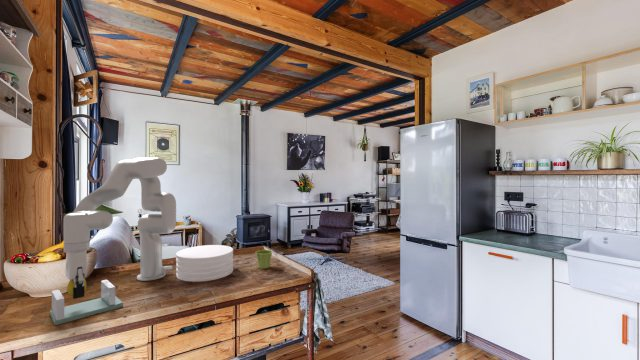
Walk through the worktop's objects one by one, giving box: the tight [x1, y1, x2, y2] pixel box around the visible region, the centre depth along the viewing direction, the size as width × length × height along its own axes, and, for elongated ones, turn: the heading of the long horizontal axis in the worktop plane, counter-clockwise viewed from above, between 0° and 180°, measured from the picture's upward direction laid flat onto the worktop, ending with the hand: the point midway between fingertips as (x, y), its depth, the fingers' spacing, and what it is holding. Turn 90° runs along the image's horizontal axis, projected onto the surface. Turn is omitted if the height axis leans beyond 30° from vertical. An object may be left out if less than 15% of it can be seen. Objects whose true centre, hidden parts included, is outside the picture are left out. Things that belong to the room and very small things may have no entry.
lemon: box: [66, 277, 87, 297], centre depth 111 cm, size 6×6×8 cm
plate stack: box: [175, 244, 234, 282], centre depth 159 cm, size 28×28×12 cm
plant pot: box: [254, 249, 273, 270], centre depth 167 cm, size 9×9×9 cm
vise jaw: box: [100, 279, 116, 306], centre depth 118 cm, size 2×12×7 cm, turn 48°
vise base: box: [49, 289, 124, 326], centre depth 114 cm, size 20×12×8 cm, turn 138°
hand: (77, 294), depth 111 cm, fingers closed on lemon, 5 cm apart
